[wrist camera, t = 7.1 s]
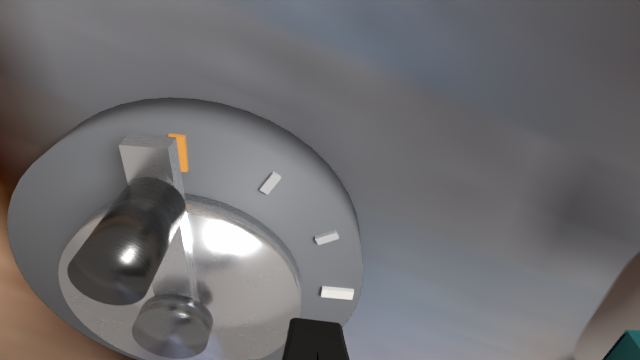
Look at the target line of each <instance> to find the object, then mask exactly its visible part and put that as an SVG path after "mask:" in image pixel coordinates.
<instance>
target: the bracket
mask: <svg viewBox="0 0 640 360" xmlns="http://www.w3.org/2000/svg"><path fill="white" fill-rule="evenodd" d="M602 360H640V330H625V332H624V333H623V334H622V336H621V337H620V338H619V339H618V340H617V342H616V343H615V344H614V345H613V347H612V348H611V349H610V350H609V352H608V353H607V354H606V356H605V357H604V358H603V359H602Z"/></svg>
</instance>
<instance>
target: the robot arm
mask: <svg viewBox="0 0 640 360" xmlns="http://www.w3.org/2000/svg"><path fill="white" fill-rule="evenodd" d="M282 360H349V356H348V352H347V348H346V344H345V340H344V336H343V331H342V326H341V325H340V324H339V323H336V322H328V321H319V320H311V319H303V318H293V319H291V320H290V323H289V328H288V333H287V338H286V343H285V347H284V352H283V357H282Z"/></svg>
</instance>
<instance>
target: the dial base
mask: <svg viewBox="0 0 640 360" xmlns="http://www.w3.org/2000/svg"><path fill="white" fill-rule="evenodd" d="M128 134H140V135H154V136H167V137H176V141H177V148H178V154H179V161H180V168H181V175H182V182H183V189H184V194H190V195H196V196H201V197H205V198H209V199H213V200H216V201H219V202H222V203H225V204H228V205H230V206H232V207H235V208H237V209H239V210H241V211H243V212H245V213H247V214H249V215H250V216H252V217H254V218H256V219H257V220H259V221H260V222H261V223H263V224H264V225H265V226H267V227H268V228H270V229H271V230H272V231H273V232H274V233H275V234H276V235H277V236H278V237H279V238H280V239H281V240H282V241H283V242H284V244H285V245H286V246H287V247H288V249H289V250H290V252H291V253H292V255H293V257H294V258H295V260H296V263H297V265H298V268H299V270H300V275H301V279H302V296H301V311H300V316H299V318H303V319H311V320H319V321H328V322H336V323H339V324H340V325H341V326H342V327H343V326H344V325H345V324H346V323H347V321H348V320H349V318H350V317H351V315H352V313H353V311H354V310H355V308H356V305H357V303H358V300H359V297H360V294H361V289H362V282H363V262H362V252H361V242H360V232H359V225H358V220H357V216H356V211H355V209H354V206H353V204H352V201H351V199H350V196H349V194H348V192H347V191H346V189H345V187H344V186H343V184H342V182H341V180H340V179H339V177H338V176H337V175H336V174H335V172H334V171H333V170H332V169H331V167H330V166H329V165H328V164H327V162H325V161H324V160H323V159H322V158H321V157H320V156H319V155H318V154H317V153H316V152H315V151H314V150H313V149H312V148H311V147H310V146H308V145H307V144H306V143H304V142H303V141H301V140H300V139H299V138H297V137H296V136H295V135H293V134H292V133H290V132H289V131H287V130H285V129H283V128H282V127H280V126H278V125H276V124H275V123H273V122H271V121H269V120H267V119H264V118H262V117H260V116H257V115H255V114H252V113H250V112H248V111H245V110H242V109H238V108H235V107H231V106H228V105H225V104H221V103H215V102H210V101H204V100H198V99H185V98H159V99H145V100H140V101H135V102H130V103H126V104H121V105H118V106H115V107H113V108H110V109H107V110H105V111H102V112H99V113H98V114H96V115H94V116H92V117H91V118H89V119H87V120H85V121H83V122H82V123H80V124H79V125H78V126H77V127H76V128H74V129H73V130H72V131H71V132H69V133H68V134H67V135H66V136H65V137H63V138H62V139H61V140H60V141H59V142H58V143H56V144H55V145H54V146H53V147H52V148H51V149H49V150H48V151H47V152H46V153H45V154H43V155H42V156H41V157H40V158H39V159H38V160H36V161H35V162H34V163H33V164H32V165H31V166H30V167H29V169H28V170H27V171H26V172H25V174H24V175H23V176H22V177H21V179H20V180H19V182H18V184H17V186H16V188H15V190H14V192H13V194H12V197H11V201H10V205H9V209H8V222H7V231H8V237H9V243H10V247H11V250H12V253H13V256H14V259H15V261H16V264H17V266H18V267H19V269H20V271H21V273H22V275H23V277H24V279H25V280H26V281H27V283H28V284H29V285H30V287H31V288H32V290H33V291H34V292H35V294H36V295H37V296H38V297H39V298H40V299H41V300H42V301H43V302H44V303H45V304H46V306H47V307H48V308H50V309H51V310H52V311H53V312H54V313H55V314H56V315H57V316H59V317H60V318H61V319H62V320H63V321H65V322H66V323H68V324H69V325H70V326H72V327H73V328H74V329H76V330H77V331H79V332H80V333H82V334H84V335H85V336H87V337H89V338H90V339H92V340H94V341H96V342H98V343H99V344H101V345H103V346H105V347H107V348H109V349H112V350H114V351H116V352H119V353H121V354H124V355H126V356H128V357H131V358H134V359H137V360H145V359H142V358H139V357H137V356H134V355H132V354H129V353H127V352H125V351H123V350H121V349H119V348H117V347H115V346H113V345H111V344H110V343H108V342H106V341H105V340H103V339H102V338H100V337H99V336H98V335H96V334H95V333H93V332H92V331H91V330H90V329H89V328H88V327H86V326H85V325H84V324H83V323H82V322H81V321H80V320H79V319H78V317H77V316H76V315H75V314H74V313H73V311H72V310H71V308H70V307H69V306H68V304H67V302H66V300H65V298H64V296H63V294H62V291H61V288H60V284H59V277H58V270H59V262H60V259H61V256H62V253H63V251H64V250H65V248H66V246H67V244H68V243H69V242H70V240H71V239H72V238H73V237H74V235H75V234H76V233H77V232H78V230H79V229H80V228H81V226H82V225H83V224H84V223H85V222H86V221H87V220H88V219H89V217H90V216H92V215H93V214H94V213H95V212H97V211H98V210H99V209H101V208H103V207H105V206H106V205H108V204H110V203H112V202H115V200H116V199H117V198H118V196H119V195H120V194H121V192H122V191H123V190H124V188H125V187H126V186H127V184H128V183H127V178H126V174H125V170H124V166H123V162H122V157H121V153H120V149H119V144H120V143H121V142H122V141H123V140H124V138H125V137H126V136H127V135H128ZM285 343H286V342H285ZM285 343H284V344H283V345H282V346H281V347H279V348H278V349H277V350H276V351H274V352H272V353H271V354H269V355H267V356H266V357H263V358H261V359H259V360H282V357H283V352H284V347H285Z"/></svg>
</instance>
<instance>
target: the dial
mask: <svg viewBox="0 0 640 360" xmlns="http://www.w3.org/2000/svg"><path fill="white" fill-rule="evenodd" d="M119 149H120V153H121V157H122V162H123V166H124V170H125V174H126V178H127V183H128V184H127V186H126V187H125V188H124V190H123V191H122V192H121V194H120V195H119V196H118V198H117V199H116V200H115V202H112V203H110V204H108V205H106V206H105V207H103V208H101V209H99V210H98V211H97V212H95V213H94V214H93V215H92V216H90V217H89V219H88V220H87V221H86V222H85V223H84V224H83V225H82V226H81V228H80V229H79V230H78V232H77V233H76V234H75V235H74V237H73V238H72V239H71V240H70V242H69V243H68V244H67V246H66V248H65V250H64V251H63V253H62V256H61V259H60V262H59V270H58V277H59V284H60V288H61V291H62V294H63V296H64V298H65V300H66V302H67V304H68V306H69V307H70V308H71V310H72V311H73V313H74V314H75V315H76V316H77V317H78V319H79V320H80V321H81V322H82V323H83V324H84V325H85V326H86V327H88V328H89V329H90V330H91V331H92V332H93V333H95V334H96V335H98V336H99V337H100V338H102V339H103V340H105V341H106V342H108V343H110V344H111V345H113V346H115V347H117V348H119V349H121V350H123V351H125V352H127V353H129V354H132V355H134V356H137V357H139V358H142V359H145V360H259V359H261V358H263V357H266V356H267V355H269V354H271V353H272V352H274V351H276V350H277V349H278V348H279V347H281V346H282V345H283V344H284V343H285V342H286V338H287V333H288V328H289V323H290V320H291V319H293V318H299V316H300V311H301V296H302V279H301V275H300V270H299V268H298V265H297V263H296V260H295V258H294V257H293V255H292V253H291V252H290V250H289V249H288V247H287V246H286V245H285V244H284V242H283V241H282V240H281V239H280V238H279V237H278V236H277V235H276V234H275V233H274V232H273V231H272V230H271V229H270V228H268V227H267V226H265V225H264V224H263V223H261V222H260V221H259V220H257V219H256V218H254V217H252V216H250V215H249V214H247V213H245V212H243V211H241V210H239V209H237V208H235V207H232V206H230V205H228V204H225V203H222V202H219V201H216V200H213V199H209V198H205V197H201V196H196V195H190V194H184V189H183V182H182V175H181V168H180V161H179V154H178V148H177V141H176V137H167V136H154V135H140V134H128V135H127V136H126V137H125V138H124V140H123V141H122V142H121V143H120V144H119Z"/></svg>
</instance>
